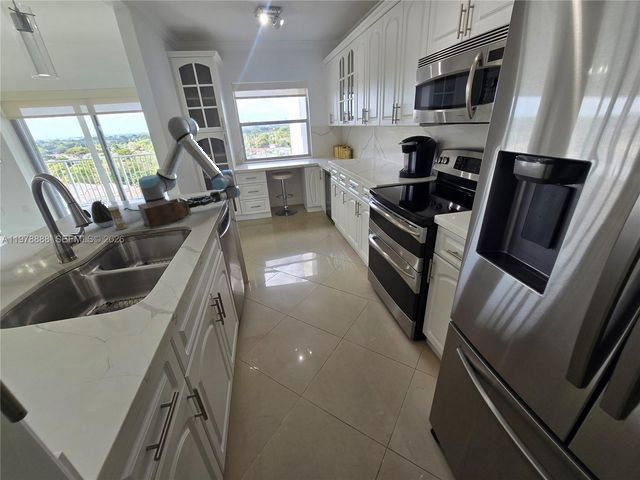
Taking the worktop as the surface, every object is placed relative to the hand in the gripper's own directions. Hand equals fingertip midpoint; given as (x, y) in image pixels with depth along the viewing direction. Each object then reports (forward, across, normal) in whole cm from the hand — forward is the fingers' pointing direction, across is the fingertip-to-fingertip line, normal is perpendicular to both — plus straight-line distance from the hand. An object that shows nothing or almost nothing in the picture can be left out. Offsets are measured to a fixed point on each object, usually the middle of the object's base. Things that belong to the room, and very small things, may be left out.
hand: (185, 204), depth 159 cm
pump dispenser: (+38, +23, -7) cm, 45 cm away
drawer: (+4, 0, -6) cm, 7 cm away
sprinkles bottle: (+34, +9, -7) cm, 36 cm away
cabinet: (+16, 0, -7) cm, 17 cm away
